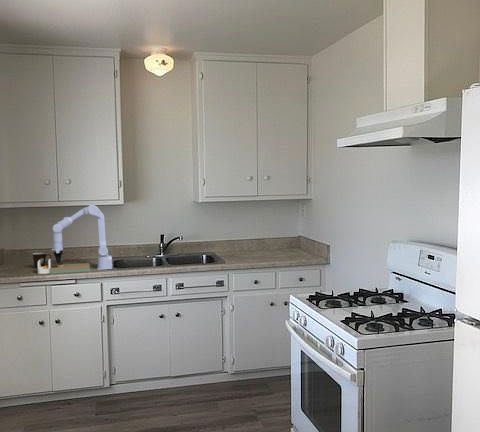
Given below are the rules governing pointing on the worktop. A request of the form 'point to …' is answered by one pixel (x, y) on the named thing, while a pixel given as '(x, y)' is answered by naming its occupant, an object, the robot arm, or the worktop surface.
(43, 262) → the coffee mug
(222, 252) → the worktop surface
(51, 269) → the pitch
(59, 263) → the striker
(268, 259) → the worktop surface
